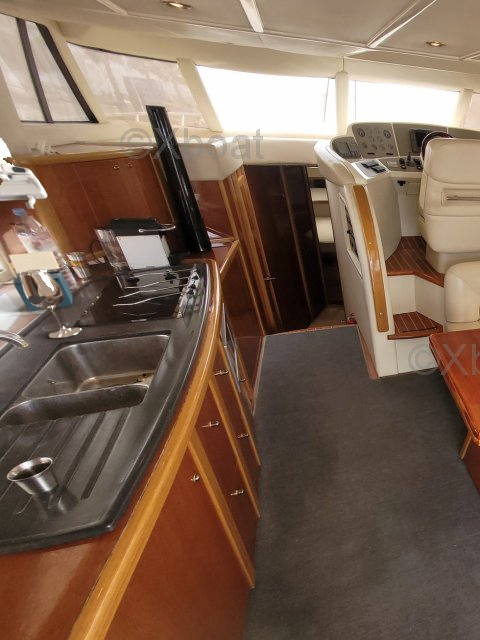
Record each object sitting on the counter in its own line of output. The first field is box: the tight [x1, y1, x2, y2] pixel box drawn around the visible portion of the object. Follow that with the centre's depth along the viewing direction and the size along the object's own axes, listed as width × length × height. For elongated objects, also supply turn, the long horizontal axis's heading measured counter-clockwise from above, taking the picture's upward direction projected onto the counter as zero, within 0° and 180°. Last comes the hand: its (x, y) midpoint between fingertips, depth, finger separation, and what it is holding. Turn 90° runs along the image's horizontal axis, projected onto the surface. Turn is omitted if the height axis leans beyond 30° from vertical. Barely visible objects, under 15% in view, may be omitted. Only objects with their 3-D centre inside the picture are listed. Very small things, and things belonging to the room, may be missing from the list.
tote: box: [12, 270, 73, 312], centre depth 140 cm, size 13×11×10 cm
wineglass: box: [19, 269, 82, 339], centre depth 118 cm, size 8×8×20 cm
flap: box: [8, 250, 60, 274], centre depth 140 cm, size 6×11×1 cm
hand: (11, 209), depth 139 cm, fingers open, 8 cm apart
